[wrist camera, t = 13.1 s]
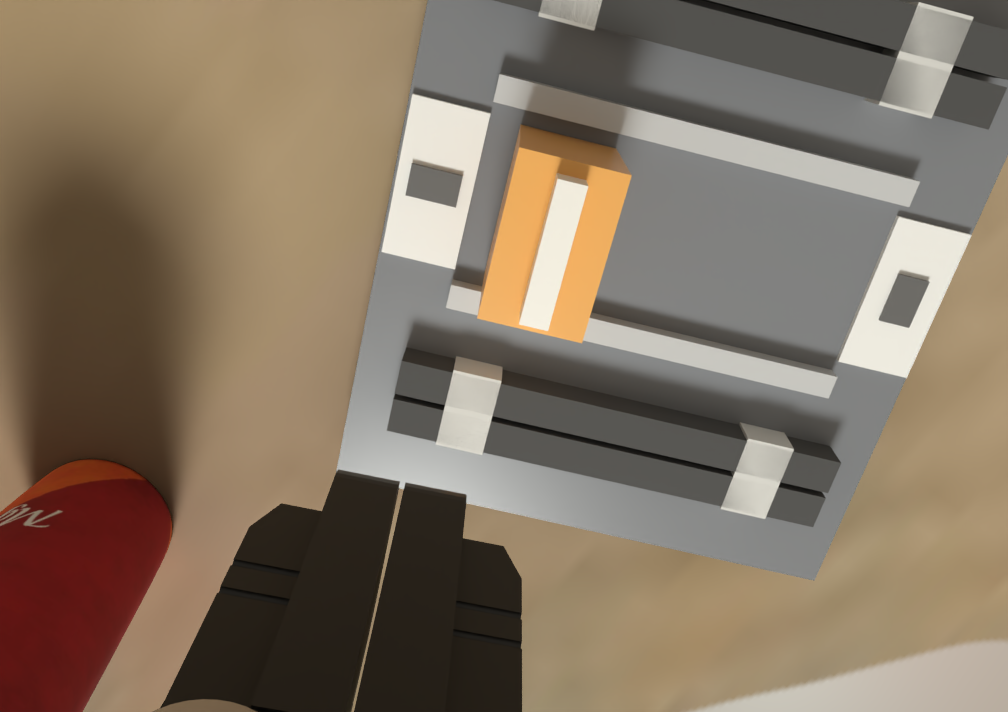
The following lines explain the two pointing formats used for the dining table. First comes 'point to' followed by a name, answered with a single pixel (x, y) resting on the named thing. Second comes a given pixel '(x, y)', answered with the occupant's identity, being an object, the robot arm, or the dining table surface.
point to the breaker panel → (673, 259)
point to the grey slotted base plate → (671, 433)
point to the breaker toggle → (553, 234)
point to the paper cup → (73, 579)
